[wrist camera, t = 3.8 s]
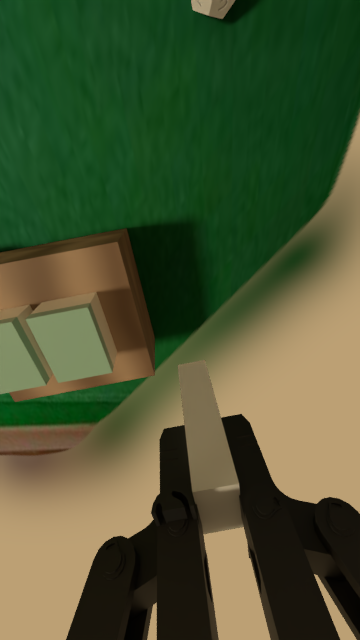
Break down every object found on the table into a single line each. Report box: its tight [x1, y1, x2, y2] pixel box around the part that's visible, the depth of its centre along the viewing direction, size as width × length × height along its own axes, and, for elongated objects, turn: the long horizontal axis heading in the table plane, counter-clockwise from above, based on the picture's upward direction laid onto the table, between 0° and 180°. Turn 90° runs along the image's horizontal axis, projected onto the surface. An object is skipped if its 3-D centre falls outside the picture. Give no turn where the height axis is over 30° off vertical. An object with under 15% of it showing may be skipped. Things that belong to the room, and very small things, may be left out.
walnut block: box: [0, 228, 155, 402], centre depth 25 cm, size 14×13×7 cm
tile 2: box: [25, 292, 117, 383], centre depth 21 cm, size 4×6×3 cm
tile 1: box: [0, 305, 53, 394], centre depth 21 cm, size 4×6×3 cm
